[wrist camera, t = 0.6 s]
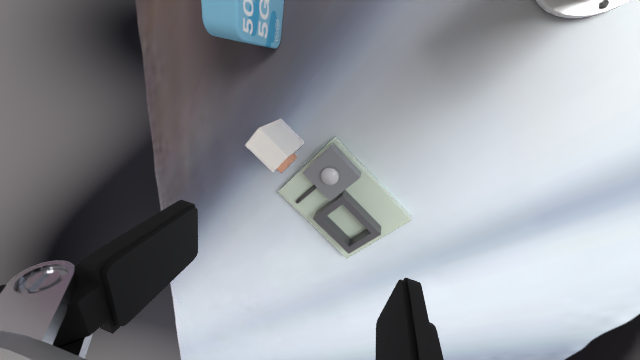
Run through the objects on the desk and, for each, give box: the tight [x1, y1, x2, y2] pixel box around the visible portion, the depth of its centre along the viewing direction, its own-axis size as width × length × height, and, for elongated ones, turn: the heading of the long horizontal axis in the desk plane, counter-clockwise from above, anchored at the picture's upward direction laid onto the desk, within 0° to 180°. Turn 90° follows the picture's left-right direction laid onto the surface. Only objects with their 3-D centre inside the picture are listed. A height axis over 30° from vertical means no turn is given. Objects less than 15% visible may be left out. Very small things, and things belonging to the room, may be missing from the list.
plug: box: [245, 119, 304, 173], centre depth 39 cm, size 4×7×8 cm, turn 46°
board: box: [278, 137, 411, 258], centre depth 43 cm, size 16×20×5 cm
